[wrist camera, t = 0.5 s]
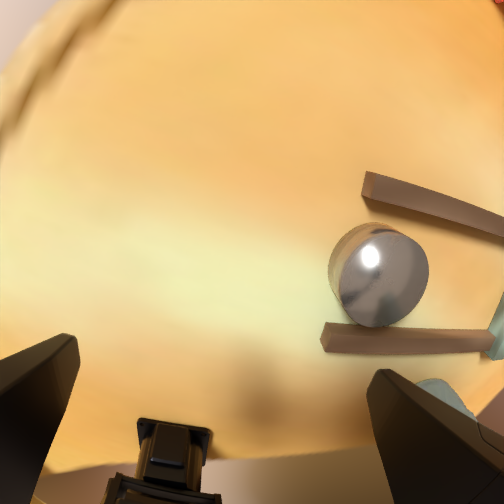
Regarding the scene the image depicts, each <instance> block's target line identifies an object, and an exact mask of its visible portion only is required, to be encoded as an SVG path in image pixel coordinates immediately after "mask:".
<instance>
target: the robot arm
mask: <svg viewBox="0 0 504 504" xmlns="http://www.w3.org/2000/svg"><path fill="white" fill-rule="evenodd" d="M79 368H80V355H79V348H78V342H77V338H76V337H75V336H74V335H70V334H66V333H61V334H59V335H57V336H54V337H52V338H50V339H48V340H45V341H43V342H41V343H38V344H36V345H34V346H31V347H29V348H27V349H25V350H22V351H20V352H18V353H15V354H13V355H11V356H9V357H6V358H4V359H2V360H0V504H30V501H31V498H32V495H33V492H34V489H35V486H36V483H37V481H38V478H39V475H40V473H41V470H42V467H43V464H44V462H45V459H46V457H47V454H48V452H49V449H50V447H51V444H52V442H53V439H54V437H55V434H56V432H57V430H58V427H59V425H60V422H61V420H62V418H63V415H64V413H65V411H66V408H67V405H68V402H69V398H70V395H71V392H72V389H73V386H74V383H75V380H76V377H77V374H78V371H79ZM366 397H367V402H368V407H369V412H370V416H371V421H372V426H373V431H374V436H375V440H376V443H377V447H378V450H379V453H380V456H381V459H382V462H383V466H384V469H385V473H386V476H387V479H388V483H389V486H390V489H391V493H392V496H393V500H394V504H504V436H502V435H500V434H498V433H497V432H495V431H493V430H491V429H489V428H487V427H486V426H484V425H482V424H481V423H479V422H476V421H475V420H474V419H472V418H470V417H469V416H467V415H465V414H464V413H462V412H460V411H458V410H457V409H455V408H453V407H452V406H450V405H448V404H447V403H445V402H443V401H442V400H440V399H438V398H437V397H435V396H434V395H432V394H430V393H429V392H427V391H425V390H424V389H422V388H420V387H419V386H417V385H415V384H414V383H412V382H411V381H409V380H407V379H406V378H404V377H402V376H401V375H399V374H398V373H396V372H394V371H393V370H391V369H379V370H377V371H376V372H375V374H374V376H373V379H372V381H371V383H370V385H369V387H368V389H367V394H366ZM137 430H138V438H139V445H140V453H139V458H138V462H137V466H136V471H135V475H134V478H133V477H129V476H125V475H123V474H122V473H119V472H117V473H116V476H115V478H110V479H109V481H108V485H107V489H106V492H105V494H104V497H103V499H102V501H101V503H100V504H222V499H221V494H207V493H201V492H200V490H201V471H202V466H204V465H205V461H206V455H207V448H208V442H209V435H210V431H209V430H208V429H206V428H199V427H192V426H185V425H178V424H172V423H166V422H160V421H155V420H150V419H145V418H139V419H138V421H137Z"/></svg>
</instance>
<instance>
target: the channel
mask: <svg viewBox="0 0 504 504" xmlns="http://www.w3.org/2000/svg"><path fill="white" fill-rule="evenodd" d="M361 195H363V196H366V197H368V198H370V199H374V200H378V201H382V202H386V203H390V204H394V205H398V206H402V207H405V208H409V209H413V210H416V211H420V212H424V213H427V214H431V215H434V216H438V217H441V218H445V219H448V220H451V221H455V222H458V223H461V224H464V225H467V226H471V227H474V228H477V229H480V230H483V231H486V232H489V233H492V234H495V235H498V236H501V237H504V217H502V216H500V215H497V214H495V213H492V212H490V211H487V210H485V209H482V208H480V207H477V206H475V205H472V204H469V203H467V202H464V201H461V200H458V199H456V198H453V197H450V196H447V195H444V194H441V193H438V192H435V191H432V190H429V189H426V188H423V187H420V186H417V185H414V184H411V183H407V182H404V181H401V180H397V179H394V178H391V177H387V176H384V175H380V174H377V173H372V172H368V171H366V174H365V179H364V184H363V188H362V193H361ZM320 341H321V344H322V346H323V348H324V351H325V352H333V353H357V354H441V353H463V352H479V351H484V352H485V353H486V354H487V355H488V356H489V357H490V358H491V359H492V361H494V360H502V359H504V293H503V296H502V298H501V301H500V303H499V306H498V308H497V310H496V313H495V315H494V317H493V319H492V322H491V324H490V326H489V328H488V330H460V329H423V328H400V327H367V326H363V325H353V324H340V323H328V322H326V323H325V326H324V329H323V332H322V335H321V338H320Z"/></svg>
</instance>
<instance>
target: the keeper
mask: <svg viewBox="0 0 504 504" xmlns="http://www.w3.org/2000/svg"><path fill="white" fill-rule="evenodd" d="M428 276H429V266H428V260H427V257H426V254H425V252H424V251H423V249H422V248H421V246H420V245H419V244H418V243H417V242H415V241H414V240H412V239H411V238H409V237H408V236H406V235H404V234H403V233H401V232H399V231H397V230H396V229H394V228H392V227H390V226H388V225H386V224H383V223H366V224H363V225H360V226H358V227H355V228H354V229H352V230H350V231H349V232H348V233H347V234H345V235H344V236H343V237H342V238H341V239H340V241H339V242H338V243H337V245H336V246H335V248H334V250H333V252H332V254H331V257H330V260H329V265H328V278H329V283H330V286H331V288H332V290H333V292H334V293H335V295H336V296H337V298H338V299H339V301H340V303H341V304H342V306H343V307H344V309H345V310H346V312H347V313H348V315H349V316H350V317H351V318H352V319H353V320H354V321H355V322H357V323H359V324H361V325H363V326H367V327H383V326H387V325H390V324H393V323H395V322H397V321H399V320H401V319H402V318H404V317H405V316H406V315H407V314H409V313H410V312H411V311H412V310H413V309H414V307H415V306H416V305H417V304H418V302H419V301H420V299H421V297H422V296H423V294H424V291H425V289H426V286H427V282H428Z"/></svg>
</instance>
